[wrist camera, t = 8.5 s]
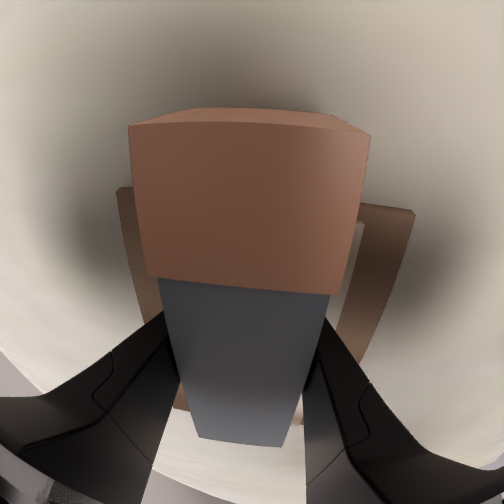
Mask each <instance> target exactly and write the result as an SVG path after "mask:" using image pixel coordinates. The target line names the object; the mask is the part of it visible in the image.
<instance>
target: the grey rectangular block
mask: <svg viewBox="0 0 504 504" xmlns="http://www.w3.org/2000/svg"><path fill="white" fill-rule="evenodd" d="M128 133H129V147H130V159H131V170H132V179H133V188H134V196H135V204H136V211H137V218H138V224H139V231H140V237H141V243H142V248H143V254H144V259H145V265H146V270H147V275H148V276H150V277H157V281H158V286H159V291H160V296H161V301H162V306H163V311H164V315H165V320H166V324H167V328H168V333H169V337H170V341H171V345H172V349H173V353H174V357H175V361H176V364H177V368H178V372H179V375H180V379H181V383H182V386H183V390H184V393H185V396H186V400H187V403H188V406H189V409H190V412H191V416H192V419H193V422H194V425H195V428H196V431H197V434H198V437H200V438H205V439H211V440H217V441H224V442H231V443H238V444H246V445H256V446H267V447H282V445H283V442H284V440H285V437H286V435H287V432H288V429H289V427H290V424H291V421H292V419H293V416H294V413H295V410H296V408H297V405H298V402H299V399H300V396H301V393H302V390H303V387H304V384H305V381H306V378H307V375H308V372H309V369H310V366H311V363H312V360H313V356H314V353H315V350H316V346H317V343H318V340H319V336H320V333H321V329H322V326H323V322H324V319H325V315H326V311H327V307H328V304H329V300H330V296H331V295H339V291H340V288H341V284H342V280H343V276H344V272H345V268H346V264H347V260H348V256H349V252H350V248H351V243H352V239H353V234H354V230H355V225H356V220H357V215H358V210H359V205H360V200H361V195H362V189H363V183H364V178H365V172H366V165H367V159H368V152H369V145H370V138H371V135H369V134H367V133H365V132H364V131H362V130H360V129H358V128H356V127H354V126H352V125H351V124H349V123H347V122H345V121H343V120H341V119H339V118H337V117H335V116H333V115H327V114H319V113H310V112H300V111H289V110H276V109H259V108H193V109H188V110H184V111H179V112H175V113H171V114H167V115H163V116H159V117H156V118H152V119H148V120H145V121H141V122H138V123H134V124H131V125H128Z"/></svg>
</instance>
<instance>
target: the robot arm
mask: <svg viewBox="0 0 504 504" xmlns="http://www.w3.org/2000/svg"><path fill="white" fill-rule="evenodd" d="M180 382H181V379H180V375H179V372H178V368H177V364H176V361H175V357H174V353H173V349H172V345H171V341H170V337H169V333H168V328H167V324H166V320H165V315H164V311H161V312H160V313H159V314H157V315H156V316H155V317H154V318H152V319H151V320H150V321H148V322H147V323H146V324H145V325H143V326H142V327H141V328H139V329H138V330H137V331H136V332H134V333H133V334H132V335H130V336H129V337H128V338H127V339H125V340H124V341H123V342H121V343H120V344H119V345H118V346H116V347H115V348H114V349H112V352H111V351H110V352H108V353H107V354H106V355H105V356H103V357H102V358H101V359H99V360H98V361H97V362H95V363H94V364H93V365H91V366H90V367H88V368H87V369H85V370H84V371H82V372H81V373H79V374H78V375H76V376H74V377H73V378H71V379H70V380H68V381H66V382H65V383H63V384H62V385H60V386H58V387H57V388H55V389H53V390H52V391H50V392H48V393H46V394H43V395H40V396H34V397H0V504H141V501H142V497H143V494H144V491H145V488H146V484H147V481H148V478H149V475H150V472H151V469H152V466H153V465H152V464H153V462H154V459H155V456H156V453H157V450H158V447H159V444H160V441H161V438H162V435H163V432H164V429H165V426H166V423H167V420H168V417H169V414H170V411H171V408H172V406H173V403H174V400H175V397H176V394H177V391H178V388H179V385H180ZM302 403H303V420H304V440H305V464H306V486H307V487H306V503H307V504H504V499H502V497H501V493H502V492H504V466H503V467H501V468H499V469H496V470H481V469H477V468H474V467H470V466H467V465H464V464H461V463H458V462H455V461H453V460H450V459H447V458H444V457H442V456H439V455H436V454H434V453H432V452H430V451H428V450H427V449H425V448H424V447H423V446H422V445H420V444H419V443H418V441H417V440H416V439H415V438H414V437H413V436H412V435H411V433H410V432H409V431H408V430H407V429H406V428H405V426H404V425H403V424H402V423H401V422H400V421H399V419H398V418H397V417H396V416H395V415H394V413H393V412H392V411H391V410H390V409H389V407H388V406H387V405H386V404H385V402H384V401H383V399H382V398H381V397H380V395H379V394H378V392H377V391H376V389H375V388H374V386H373V385H372V383H370V381H369V379H368V378H367V376H366V375H365V373H364V372H363V370H362V369H361V367H360V366H359V364H358V363H357V361H356V360H355V359H354V357H353V356H352V354H351V353H350V351H349V350H348V348H347V347H346V345H345V344H344V342H343V341H342V340H341V338H340V337H339V335H338V334H337V332H336V331H335V329H334V328H333V327H332V325H331V324H330V322H329V321H328V319H327V318H326V317H325V319H324V322H323V326H322V329H321V333H320V336H319V340H318V343H317V346H316V350H315V353H314V356H313V360H312V363H311V366H310V369H309V372H308V375H307V378H306V381H305V384H304V387H303V390H302Z"/></svg>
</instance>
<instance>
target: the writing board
mask: <svg viewBox="0 0 504 504" xmlns="http://www.w3.org/2000/svg"><path fill="white" fill-rule="evenodd" d="M116 195H117V201H118V208H119V214H120V220H121V225H122V231H123V236H124V241H125V246H126V251H127V256H128V261H129V265H130V270H131V274H132V278H133V282H134V286H135V290H136V294H137V298H138V302H139V306H140V309H141V313H142V317H143V320H144V324H146V323H147V322H148V321H150V320H151V319H152V318H154V317H155V316H156V315H157V314H159V313H160V312H161V311H163V306H162V301H161V296H160V291H159V286H158V281H157V277H150V276H148V275H147V270H146V265H145V259H144V254H143V248H142V243H141V237H140V231H139V224H138V218H137V211H136V204H135V196H134V188H120V189H118V190H117V191H116ZM414 219H415V214H414V213H413V212H412V211H411V210H405V209H398V208H392V207H385V206H378V205H371V204H363V203H360V205H359V210H358V215H357V220H356V225H355V230H354V234H353V239H352V243H351V248H350V252H349V256H348V260H347V264H346V268H345V272H344V276H343V280H342V284H341V288H340V291H339V295H331V296H330V300H329V304H328V307H327V311H326V315H325V317H326V318H327V319H328V321H329V322H330V324H331V325H332V327H333V328H334V329H335V331H336V332H337V334H338V335H339V337H340V338H341V340H342V341H343V342H344V344H345V345H346V347H347V348H348V350H349V351H350V353H351V354H352V356H353V357H354V359H355V360H356V361H357V363H358V364H359V363H360V361H361V359H362V357H363V355H364V353H365V351H366V349H367V347H368V345H369V342H370V340H371V338H372V336H373V334H374V331H375V329H376V327H377V324H378V322H379V320H380V317H381V315H382V312H383V310H384V308H385V305H386V303H387V300H388V297H389V295H390V292H391V290H392V287H393V284H394V281H395V279H396V276H397V273H398V270H399V267H400V264H401V262H402V259H403V255H404V252H405V249H406V246H407V243H408V240H409V236H410V233H411V230H412V226H413V223H414ZM173 408H175V409H180V410H184V411H189V412H190V409H189V406H188V403H187V400H186V396H185V393H184V390H183V386H182V383H181V382H180V385H179V388H178V391H177V394H176V397H175V400H174V403H173ZM290 425H304V420H303V403H302V393H301V396H300V399H299V402H298V405H297V408H296V410H295V413H294V416H293V419H292V421H291V424H290Z"/></svg>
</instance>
